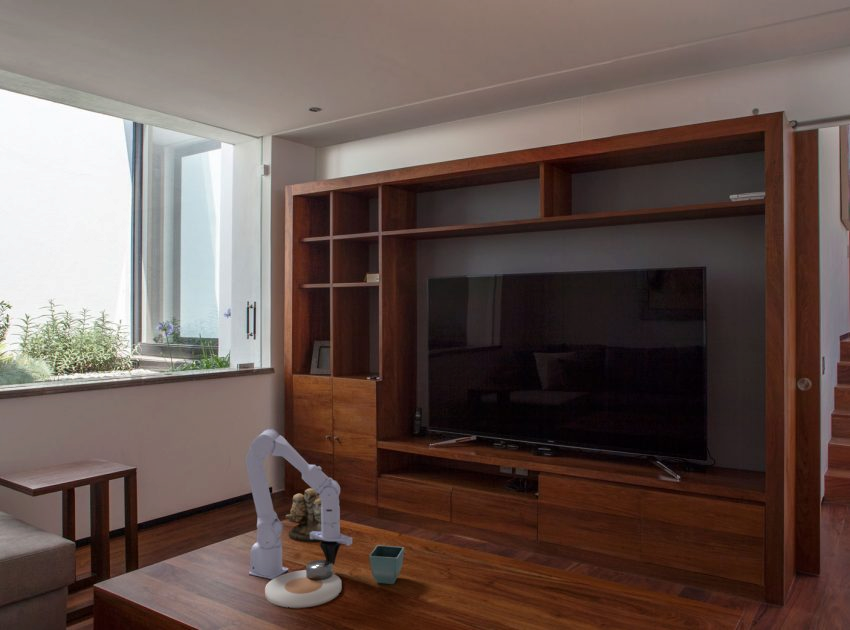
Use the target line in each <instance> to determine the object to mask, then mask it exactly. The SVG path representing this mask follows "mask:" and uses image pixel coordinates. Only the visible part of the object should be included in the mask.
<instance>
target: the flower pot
mask: <svg viewBox="0 0 850 630" xmlns="http://www.w3.org/2000/svg"><path fill="white" fill-rule="evenodd" d="M404 551H405V547H402V546H390V545H380V544H378V545H376V546H375V547H374V549H373V550H372V551H371V552H370V554H369V563H370V570H371V574H372V577H373V579H374V580H375V582H376V583H378V584H386V585H387V584H388V585H394V584H395V582H396V580H397V579H398V577H399V575H400V572H401V569H402V567H403V562H404V553H405V552H404Z"/></svg>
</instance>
